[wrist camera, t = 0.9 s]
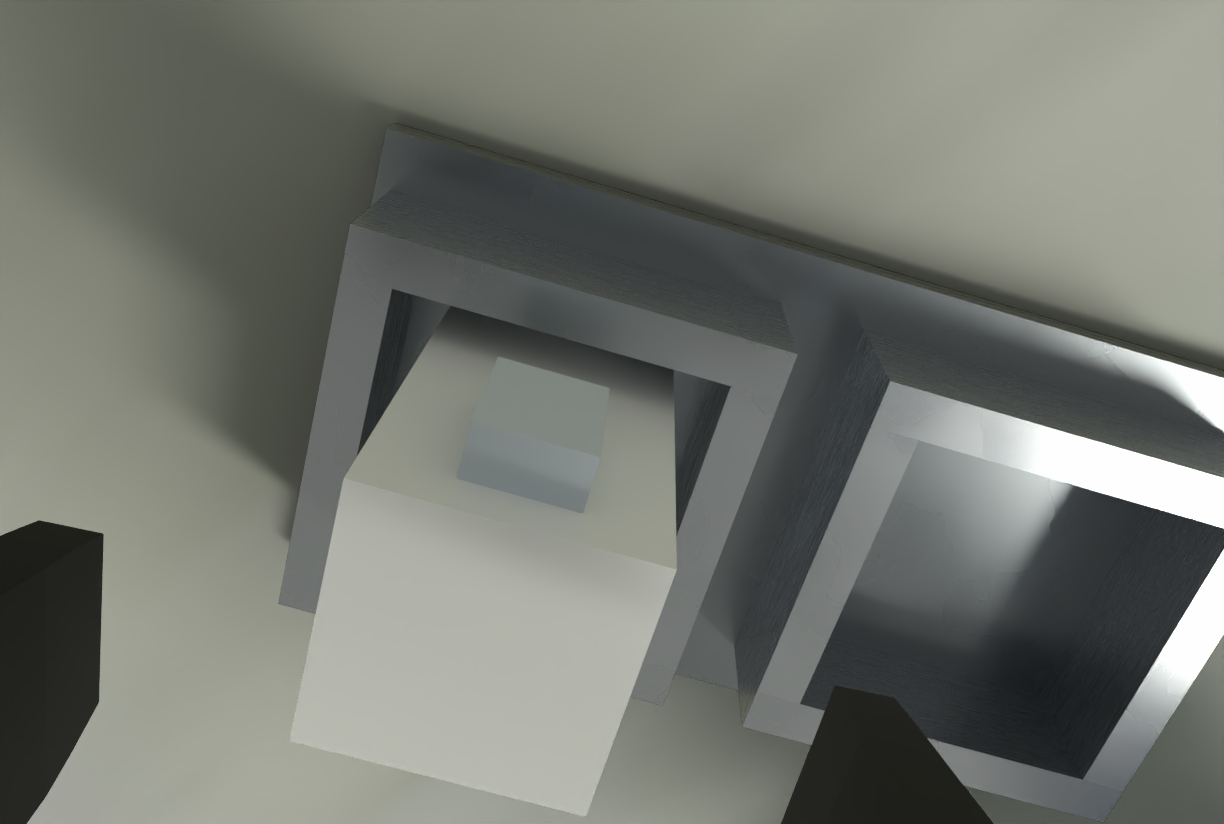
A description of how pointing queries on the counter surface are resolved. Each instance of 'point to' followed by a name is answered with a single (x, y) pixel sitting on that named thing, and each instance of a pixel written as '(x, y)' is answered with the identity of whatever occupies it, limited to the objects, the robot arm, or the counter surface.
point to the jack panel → (832, 466)
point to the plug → (497, 565)
